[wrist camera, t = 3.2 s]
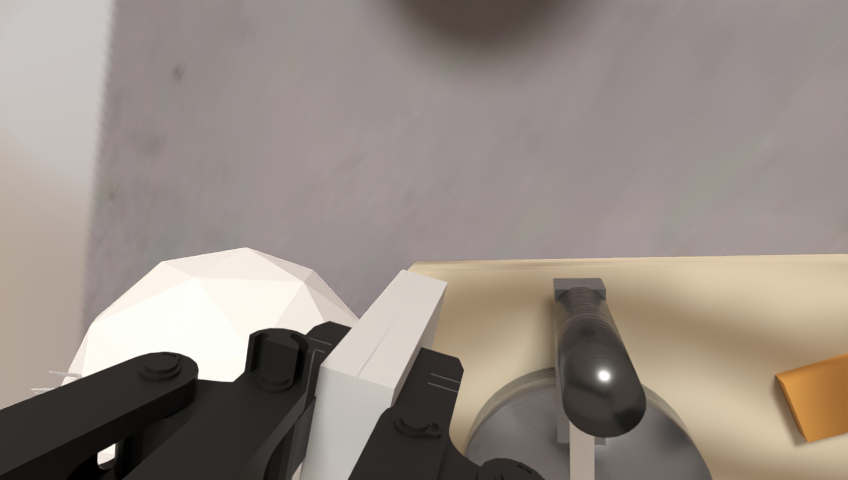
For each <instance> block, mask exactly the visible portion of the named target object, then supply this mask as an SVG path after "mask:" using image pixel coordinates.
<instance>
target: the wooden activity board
mask: <svg viewBox="0 0 848 480" xmlns="http://www.w3.org/2000/svg"><path fill="white" fill-rule="evenodd" d="M408 271H409V272H413V273H417V274H420V275H424V276H427V277H431V278H434V279H438V280H442V281H445V282H448V284H447V288H446V292H445V296H444V300H443V304H442V308H441V312H440V316H439V320H438V324H437V328H436V332H435V336H434V340H433V344H432V348H431V350H433V351H436V352H440V353H443V354H446V355H450V356H453V357H456V358H459V360H460V362H461V364H462V367H463V369H464V373H463V376H462V380H461V384H460V388H459V392H458V396H457V400H456V404H455V408H454V411H453V415H452V419H451V423H450V427H449V435H450V438H451V441H452V443H453V444H454V446H455V447H456V449H457V450H458V451H459V452H460V453H461V454H462V455H463V456H464V454H465V450H466V445H467V440H468V436H469V433H470V430H471V427H472V424H473V422H474V420H475V418H476V416H477V414H478V413H479V411H480V410H481V408H482V407H483V406H484V404H485V403H486V402H487V401H488V400H489V399H490V398H491V397H492V396H493V394H494V393H496V392H497V391H498V390H500V389H501V388H502V387H503V386H505V385H506V384H508V383H510V382H511V381H513V380H515V379H516V378H519V377H521V376H523V375H526V374H528V373H530V372H534V371H538V370H541V369H545V368H551V367H555V352H554V322H553V306H554V303H553V278H601V279H602V281H603V284H604V286H605V288H606V303H607V305H608V308H609V310H610V312H611V315H612V317H613V319H614V322H615V324H616V326H617V329H618V331H619V333H620V336H621V338H622V341H623V343H624V345H625V348H626V350H627V352H628V355H629V357H630V359H631V362H632V364H633V366H634V369H635V371H636V373H637V376H638V378H639V380H640V383H641V384H643V385H644V386H646V387H648V388H649V389H651V390H652V391H654V392H655V393H656V394H657V395H659V396H660V397H661V398H662V399H664V400H665V401H666V402H667V403H668V404H669V405H670V406H671V407H672V408H673V409H674V410H675V411H676V413H677V414H678V415H679V417H680V418H681V419H682V421H683V422H684V423H685V425H686V427H687V429H688V431H689V433H690V434H691V436H692V438H693V440H694V442H695V444H696V446H697V448H698V450H699V452H700V454H701V455H702V457H703V459H704V461H705V463H706V465H707V467H708V469H709V471H710V474H711V476H712V479H713V480H848V254H809V255H753V256H697V257H641V258H585V259H529V260H474V261H418V262H415V263H414V264H413V265H412V266H411V267H410V268H409V269H408Z"/></svg>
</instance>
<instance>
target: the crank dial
mask: <svg viewBox="0 0 848 480" xmlns="http://www.w3.org/2000/svg"><path fill="white" fill-rule="evenodd" d="M553 303H554V306H553V322H554V352H555V367H551V368H545V369H541V370H538V371H534V372H530V373H528V374H526V375H523V376H521V377H519V378H516V379H515V380H513V381H511V382H510V383H508V384H506V385H505V386H503V387H502V388H501V389H500V390H498V391H497V392H496V393H494V394H493V396H492V397H491V398H490V399H489V400H488V401H487V402H486V403H485V404H484V406H483V407H482V408H481V410H480V411H479V413H478V414H477V416H476V418H475V420H474V422H473V424H472V427H471V430H470V433H469V436H468V440H467V445H466V450H465V454H464V456H465V457H466V458H468V459H469V460H470V461H472V462H473V463H475V464H477V465H478V466H480V467H481V466H482V465H483V463H484V462H486V461H488V460H491V459H494V458H508V459H512V460H515V461H518V462H522V463H524V464H525V465H527V466H529V467H531V468H532V469H534V470H536V471H537V472H538V473H539V474H540V475H541V476H542V477H543V478H544V479H545V480H713V479H712V476H711V474H710V471H709V469H708V467H707V465H706V463H705V461H704V459H703V457H702V455H701V454H700V452H699V450H698V448H697V446H696V444H695V442H694V440H693V438H692V436H691V434H690V433H689V431H688V429H687V427H686V425H685V423H684V422H683V421H682V419H681V418H680V417H679V415H678V414H677V413H676V411H675V410H674V409H673V408H672V407H671V406H670V405H669V404H668V403H667V402H666V401H665V400H664V399H662V398H661V397H660V396H659V395H657V394H656V393H655V392H654V391H652V390H651V389H649V388H648V387H646V386H644V385H643V384H641V383H640V380H639V378H638V376H637V373H636V371H635V369H634V366H633V364H632V362H631V359H630V357H629V355H628V352H627V350H626V348H625V345H624V343H623V341H622V338H621V336H620V333H619V331H618V329H617V326H616V324H615V322H614V319H613V317H612V315H611V312H610V310H609V308H608V305H607V303H606V288H605V286H604V284H603V281H602V279H601V278H553Z"/></svg>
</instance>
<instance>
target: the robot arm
mask: <svg viewBox="0 0 848 480" xmlns="http://www.w3.org/2000/svg"><path fill="white" fill-rule="evenodd" d="M447 284H448V282H445V281H442V280H438V279H434V278H431V277H427V276H424V275H420V274H417V273H413V272H409V271H406V270H401V272H400V273H399V274H398V275H397V276H396V277H395V279H394V280H393V281H392V282H391V283H390V284H389V286H388V287H387V288H386V289H385V290H384V291H383V293H382V294H381V295H380V296H379V297H378V298H377V300H376V301H375V302H374V303H373V304H372V305H371V307H370V308H369V309H368V310H367V311H366V312H365V314H364V315H363V316H362V317H361V318H360V320H359V321H358V322H357V323H356V324H355V325H354V327H353V328H352V327H348V326H345V325H342V324H338V323H335V322H332V321H328V322H325V323H322V324H319V325H316V326H314V327H313V328H312V329H311V330H310V331H309V332H308V333H307V334H306V335H305V334H302V333H300V332H298V331H295V330H290V329H285V328H268V329H262V330H258V331H256V332H254V333H252V334H250V335H249V341H248V348H247V356H246V363H245V370H244V372H243V373H242V374H241V375H240V376H239V377H238V378H237V379H235V380H234V381H233V382H223V381H213V380H204V379H198V373H199V369H198V365H197V363H196V362H195V361H194V360H193V359H191V358H190V357H188V356H185V355H182V354H180V353H174V352H165V351H164V352H154V353H148V354H144V355H140V356H137V357H134V358H132V359H129V360H127V361H124V362H121V363H119V364H116V365H114V366H111V367H109V368H106V369H104V370H101V371H98V372H96V373H93V374H91V375H88V376H86V377H83V378H81V379H78V380H76V381H73V382H70V383H68V384H65V385H63V386H60V387H58V388H55V389H53V390H50V391H47V392H45V393H42V394H40V395H37V396H35V397H32V398H30V399H27V400H25V401H22V402H19V403H17V404H14V405H12V406H9V407H7V408H4V409H2V410H0V480H292V476H293V475H294V473H295V472H296V470H297V469H298V467H299V466H300V464H301V463H302V467H301V472H300V478H299V480H545V479H544V478H543V477H542V476H541V475H540V474H539V473H538V472H537V471H536V470H534V469H532V468H531V467H529V466H527V465H525V464H524V463H522V462H518V461H515V460H512V459H508V458H494V459H491V460H488V461H486V462H484V463H483V465H482V466H481V467H480V466H478V465H477V464H475V463H473V462H472V461H470V460H469V459H468V458H466V457H465V456H463V455H462V454H461V453H460V452H459V451H458V450H457V449H456V447H455V446H454V444H453V443H452V441H451V438H450V435H449V427H450V423H451V419H452V415H453V411H454V408H455V404H456V400H457V396H458V392H459V388H460V384H461V380H462V376H463V373H464V369H463V367H462V364H461V362H460V360H459V358H456V357H453V356H450V355H446V354H443V353H440V352H436V351H433V350H431V348H432V344H433V340H434V336H435V332H436V328H437V324H438V320H439V316H440V312H441V308H442V304H443V300H444V296H445V292H446V288H447ZM114 444H115V456H114V458H113V459H111V460H109V461H107V462H105V463H102V464H99V465H98V462H97V461H98V453H99V452H101V451H103V450H105V449H106V448H108V447H110V446H112V445H114Z"/></svg>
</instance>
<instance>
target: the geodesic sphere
mask: <svg viewBox="0 0 848 480" xmlns="http://www.w3.org/2000/svg"><path fill="white" fill-rule="evenodd" d="M328 321H332V322H335V323H338V324H342V325H345V326H348V327H352V328H353V327H354V325H355V324H356V323H357V322H358V321H359V319H358V318H357V317H356V316H355V315H354V314H353V313H352V311H351V310H350V309H349V308H348V307H347V306H346V305H345V304H344V303H343V302H342V301H341V299H340V298H339V297H338V296H337V295H336V294H335V293H334V292H333V291H332V290H331V289H330V288H329V286H328V285H327V284H326V283H325V282H324V281H323V280H322V279H321V278H320V277H319V276H318V274H317V273H316V272H315V271H314V270H312V269H309V268H306V267H303V266H300V265H297V264H294V263H291V262H288V261H285V260H282V259H279V258H277V257H274V256H271V255H268V254H265V253H262V252H259V251H256V250H253V249H250V248H247V247H246V248H240V249H234V250H228V251H222V252H216V253H210V254H204V255H198V256H192V257H186V258H180V259H174V260H168V261H162V262H161V263H160V264H158V265H157V266H156V267H155V268H154V269H153V270H151V271H150V272H149V273H148V274H147V275H146V276H144V277H143V278H142V279H141V280H140V281H139V282H137V283H136V284H135V285H134V286H133V287H132V288H130V289H129V290H128V291H127V292H126V293H125V294H123V295H122V296H121V297H120V298H119V299H118V300H116V301H115V302H114V303H113V304H112V305H111V306H109V307H108V308H107V309H106V310H105V311H104V312H102V313H101V314H100V315H99V316H98V317H97V318H96V319H95V320H94V322H93V323H92V324H91V326H90V328H89V330H88V332H87V334H86V336H85V338H84V340H83V342H82V344H81V346H80V348H79V350H78V352H77V354H76V356H75V358H74V360H73V362H72V364H71V366H70V368H69V370H68V372H57V371H48V373H52V374H53V373H54V374H55V375H61V376H66V377H65V379H64V381H63V383H62V385H61V386H63V385H65V384H68V383H70V382H73V381H76V380H78V379H81V378H83V377H86V376H88V375H91V374H93V373H96V372H98V371H101V370H104V369H106V368H109V367H111V366H114V365H116V364H119V363H121V362H124V361H127V360H129V359H132V358H134V357H137V356H140V355H144V354H148V353H154V352H164V351H165V352H174V353H180V354H182V355H185V356H188V357H190V358H191V359H193V360H194V361H195V362H196V363H197V365H198V369H199V373H198V379H204V380H213V381H223V382H233V381H234V380H235V379H237V378H238V377H239V376H240V375H241V374H242V373H243V372H244V370H245V363H246V356H247V348H248V341H249V335H250V334H252V333H254V332H256V331H258V330H262V329H268V328H285V329H290V330H295V331H298V332H300V333H302V334H305V335H306V334H307V333H308V332H309V331H310V330H311V329H312V328H313V327H314V326H316V325H319V324H322V323H325V322H328ZM53 389H55V388H38V389H35V388H34V389H31V390H37V391H38V392H34V393H40V394H42V393H45V392H47V391H50V390H53ZM39 390H40V392H39ZM114 456H115V444H114V445H112V446H110V447H108V448H106V449H105V450H103V451H101V452H99V453H98V461H97V462H98V465H99V464H102V463H105V462H107V461H109V460H111V459H113V458H114ZM301 467H302V463H301V464H300V466H299V467H298V469H297V470H296V472H295V473H294V475H293V476H292V480H299V478H300V472H301Z"/></svg>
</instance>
